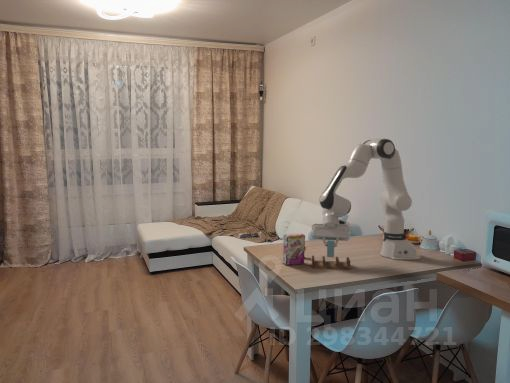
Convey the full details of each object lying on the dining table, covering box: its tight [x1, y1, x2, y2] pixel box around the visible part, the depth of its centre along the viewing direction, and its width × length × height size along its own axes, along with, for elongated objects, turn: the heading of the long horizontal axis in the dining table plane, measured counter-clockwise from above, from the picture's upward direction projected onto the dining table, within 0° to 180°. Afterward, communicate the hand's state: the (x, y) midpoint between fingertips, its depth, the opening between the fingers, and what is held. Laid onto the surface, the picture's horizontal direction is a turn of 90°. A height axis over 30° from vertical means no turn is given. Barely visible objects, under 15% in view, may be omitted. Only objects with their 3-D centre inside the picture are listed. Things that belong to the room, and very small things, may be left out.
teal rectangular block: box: [326, 239, 336, 258], centre depth 223 cm, size 4×4×9 cm
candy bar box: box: [282, 232, 306, 266], centre depth 226 cm, size 11×5×16 cm, turn 111°
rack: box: [311, 255, 351, 271], centre depth 224 cm, size 20×10×4 cm, turn 83°
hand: (330, 246), depth 222 cm, fingers closed on teal rectangular block, 3 cm apart
